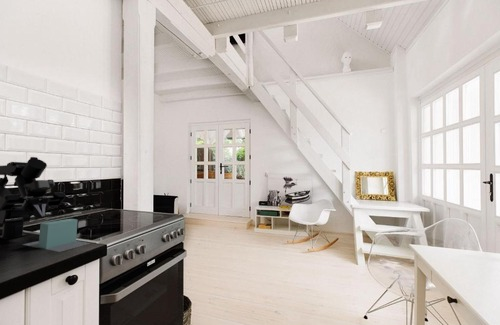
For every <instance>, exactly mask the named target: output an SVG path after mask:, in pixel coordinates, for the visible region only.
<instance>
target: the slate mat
mask: <svg viewBox="0 0 500 325" xmlns="http://www.w3.org/2000/svg"><path fill="white" fill-rule="evenodd" d="M89 244H90V245H91V243H90V242H85V241H80V240H79V241H78V240H76V241H75V242H71V243H67V244H63V245H59V246H55V247H51V248H47V249H46V248H41V247H39V240H37V241H32V242H27V243H22V244H21V245H22V246H27V247H32V248H37V249H41V250H47V251H51V252H56V253H57V252H58V253H60V252H64V251H67V250H71V249H75V248H79V247H82V246H86V245H89Z"/></svg>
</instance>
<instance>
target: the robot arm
mask: <svg viewBox="0 0 500 325" xmlns="http://www.w3.org/2000/svg"><path fill="white" fill-rule="evenodd" d="M47 166H48V165H47V163H46V162H45V161H43V160H42V159H39V158H38V157H34V156H31V157H30V158H29V159H28V160H27V161H26V162H25V161H24V162H21V161H10V162H8V163H7V164H6V165H0V176H4V177H0V224H3V227H2V235H0V239H2V240H9V239H16V238H22V237H26V236H28V234H27V233H23V232H24V225H25V224H24V221H30V220H31V218H32V215H33V216H36V217H37V218H39V219H44V218H45V216H46V207H47V205H48V206H49V207H55V206H56V207H57V206H61V205H62V204H63V202H64V200H65V199H66V198H67V195H66V194H65V192H52V193H51V194H50V195H48V196H47V191H48V190H50V189H53V188H55V186H56V182H55V181H54V179H38V178H40V177H41V175H42V174H43V173H44V171H45V170H46V169H47ZM8 176H9V177H15V178H14V183H13V186H14V187H17V188H18V189H17V190H19V192H18V193H17V194H12V193H11V192H10V191H9V190H8V189H7V188H6V186H7V184H8V183H9V179H8ZM45 195H46V196H45Z"/></svg>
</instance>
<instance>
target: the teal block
mask: <svg viewBox="0 0 500 325" xmlns="http://www.w3.org/2000/svg"><path fill="white" fill-rule="evenodd" d="M78 221H79V219H75V218H68V219H67V218H66V219H61V220H53V221H46V222H41V223H40V226H39V227H40V228H39V237H38V241H39V247H41V248H40V249H42V248H46V249H45V250H47V248H51V247H55V246H59V245H63V244H67V243H71V242H75V241H77V233H78V232H77V230H78Z"/></svg>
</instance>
